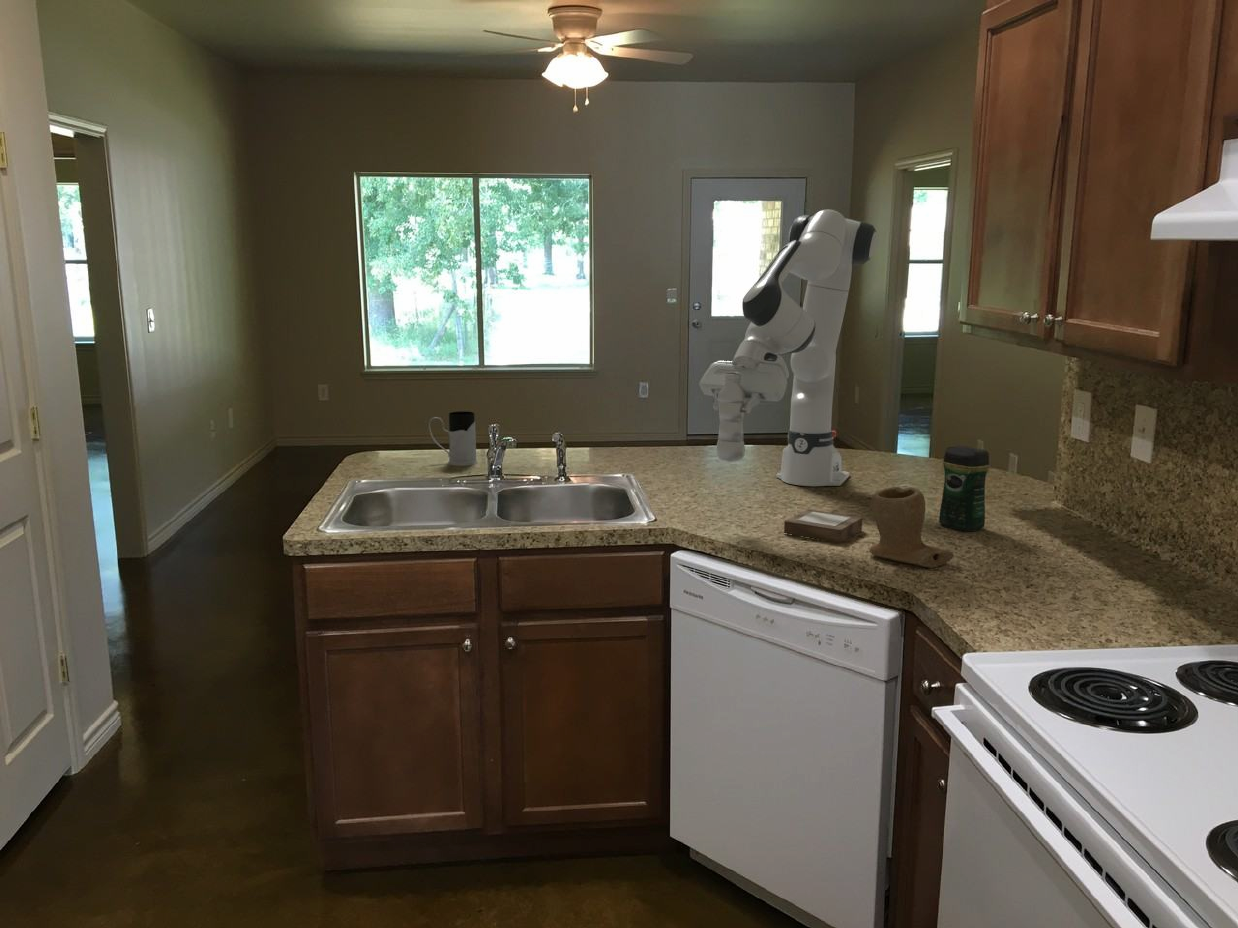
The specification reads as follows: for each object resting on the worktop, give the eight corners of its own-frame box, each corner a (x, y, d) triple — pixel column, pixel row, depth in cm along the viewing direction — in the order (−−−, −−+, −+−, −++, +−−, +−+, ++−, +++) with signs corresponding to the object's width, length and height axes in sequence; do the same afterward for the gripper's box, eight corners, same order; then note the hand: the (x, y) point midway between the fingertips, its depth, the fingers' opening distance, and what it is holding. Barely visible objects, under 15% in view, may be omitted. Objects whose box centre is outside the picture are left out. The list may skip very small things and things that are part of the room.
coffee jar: (990, 529, 221) (997, 448, 217) (967, 534, 217) (974, 452, 213) (955, 519, 229) (961, 442, 225) (932, 524, 225) (938, 445, 221)
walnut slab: (807, 521, 226) (808, 508, 225) (861, 530, 219) (862, 516, 218) (784, 534, 216) (784, 520, 215) (839, 543, 208) (840, 529, 208)
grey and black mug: (475, 465, 287) (474, 415, 284) (427, 465, 287) (425, 415, 284) (479, 460, 295) (478, 411, 292) (433, 459, 295) (431, 410, 292)
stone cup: (855, 558, 198) (859, 486, 195) (889, 548, 206) (894, 478, 203) (920, 576, 187) (926, 500, 184) (954, 564, 194) (960, 491, 191)
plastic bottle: (726, 464, 218) (728, 375, 214) (710, 459, 223) (712, 372, 220) (750, 462, 220) (753, 374, 216) (733, 457, 226) (736, 371, 222)
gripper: (708, 351, 229) (686, 397, 223) (788, 357, 217) (767, 405, 211) (717, 369, 233) (695, 414, 227) (796, 375, 222) (775, 423, 216)
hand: (730, 410), depth 219 cm, fingers closed on plastic bottle, 6 cm apart
